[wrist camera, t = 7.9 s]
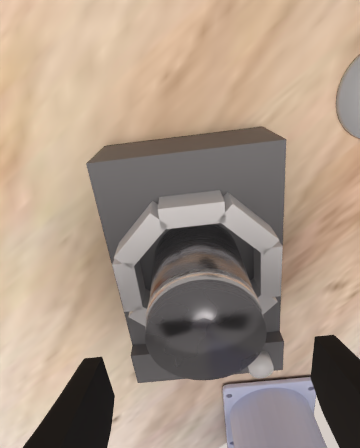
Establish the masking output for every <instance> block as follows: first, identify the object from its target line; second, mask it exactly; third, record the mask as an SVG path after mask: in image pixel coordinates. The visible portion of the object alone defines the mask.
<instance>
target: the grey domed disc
mask: <svg viewBox="0 0 360 448" xmlns="http://www.w3.org/2000/svg"><path fill="white" fill-rule="evenodd" d="M336 110H337V115H338V118H339V121H340V123H341V124H342V126H343V127H344V128H345V130H346V131H347V132H349V133H350V134H351V135H353V136H355V137H357V138H360V55H359V56H358V57H357V58H356V59H355V60H354V61H353V62H352V63H351V64H350V66H349V67H348V69H347V70H346V72H345V73H344V75H343V77H342V79H341V82H340V84H339V88H338V91H337V97H336Z"/></svg>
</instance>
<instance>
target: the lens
mask: <svg viewBox="0 0 360 448" xmlns="http://www.w3.org/2000/svg"><path fill="white" fill-rule="evenodd" d="M145 328H146V332H145V341H146V346H147V350H148V352H149V354H150V356H151V357H152V358H153V360H154V361H155V362H156V363H157V364H158V365H159V366H160V367H162V368H163V369H165V370H166V371H168V372H170V373H172V374H174V375H176V376H179V377H183V378H187V379H193V380H213V379H219V378H224V377H227V376H230V375H233V374H235V373H237V372H239V371H241V370H243V369H244V368H246V367H247V366H249V365H250V364H251V363H252V362H253V361H254V360H255V359H256V358H257V357H258V356H259V354H260V353H261V351H262V349H263V347H264V345H265V342H266V336H267V330H266V324H265V321H264V318H263V312H262V309H261V306H260V303H259V301H258V298H257V296H256V294H255V292H254V291H253V288H252V286H251V283H250V280H249V277H248V275H247V272H246V269H245V266H244V264H243V261H242V258H241V256H240V253H239V250H238V247H237V245H236V242H235V240H234V239H233V237H232V236H231V235H230V233H229V232H228V231H226V230H225V229H224V228H222V227H221V226H219V225H217V224H208V225H199V226H190V227H181V228H172V229H170V230H169V231H167V232H166V233H165V234H164V235H163V236H162V238H161V239H160V241H159V243H158V245H157V247H156V251H155V258H154V266H153V274H152V283H151V291H150V299H149V303H148V307H147V313H146V322H145Z"/></svg>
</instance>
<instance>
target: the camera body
mask: <svg viewBox="0 0 360 448" xmlns="http://www.w3.org/2000/svg"><path fill="white" fill-rule="evenodd" d="M285 159H286V139H285V138H283V137H281V136H279V135H277V134H275V133H273V132H272V131H270V130H268V129H266V128H264V127H256V128H248V129H239V130H231V131H223V132H215V133H207V134H199V135H191V136H182V137H174V138H166V139H158V140H150V141H142V142H134V143H125V144H117V145H109V146H104V147H103V148H102V149H101V150H100V151H99V152H98V153H97V154H96V155H95V156H94V157H93V158H92V159H91V160H89V161H88V162H87V163H86V165H87V169H88V173H89V176H90V180H91V184H92V188H93V192H94V196H95V200H96V204H97V208H98V212H99V216H100V220H101V223H102V227H103V231H104V235H105V239H106V243H107V247H108V251H109V255H110V259H111V263H112V267H113V270H114V274H115V278H116V282H117V286H118V290H119V294H120V298H121V302H122V306H123V310H124V313H125V317H126V321H127V325H128V329H129V333H130V337H131V341H132V345H133V346H132V352H131V358H132V362H133V366H134V370H135V373H136V377H137V381H138V383H143V382H154V381H165V380H176V379H187V378H183V377H179V376H176V375H174V374H172V373H170V372H168V371H166V370H165V369H163V368H162V367H160V366H159V365H158V364H157V363H156V362H155V361H154V360H153V358H152V357H151V356H150V354H149V352H148V350H147V346H146V341H145V332H146V328H145V322H146V313H147V307H148V303H149V299H150V291H151V283H152V274H153V266H154V258H155V251H156V247H157V245H158V243H159V241H160V239H161V238H162V236H163V235H164V234H165V233H166V232H167V231H169V230H170V229H172V228H181V227H190V226H199V225H208V224H217V225H219V226H221V227H222V228H224V229H225V230H226V231H228V232H229V233H230V235H231V236H232V237H233V239H234V240H235V242H236V245H237V247H238V250H239V253H240V256H241V258H242V261H243V264H244V266H245V269H246V272H247V275H248V277H249V280H250V283H251V286H252V288H253V291H254V292H255V294H256V296H257V298H258V301H259V303H260V306H261V309H262V312H263V318H264V321H265V324H266V330H267V336H266V342H265V345H264V347H263V349H262V351H261V353H260V354H259V356H258V357H257V358H256V359H255V360H254V361H253V362H252V363H251V364H250V365H249V366H247V367H246V368H244V369H243V370H241V371H239V372H237V373H235V374H242V373H250V374H251V375H252V376H253V377H255V378H265V377H267V376H269V375H271V374H272V372H273V371H275V370H283V349H284V341H283V338H282V336H281V333H280V304H281V277H282V249H283V217H284V188H285Z"/></svg>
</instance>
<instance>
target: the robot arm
mask: <svg viewBox="0 0 360 448" xmlns="http://www.w3.org/2000/svg"><path fill="white" fill-rule="evenodd" d="M222 390H223V402H224V413H225V425H226V437H227V448H327V446H326V444H325V442H324V439H323V437H322V435H321V432H320V430H319V427H318V425H317V422H316V420H315V417H314V407H315V399H316V395H317V398H318V400H319V403H320V406H321V409H322V411H323V414H324V416H325V418H326V420H327V422H328V424H329V426H330V428H331V431H332V433H333V435H334V437H335V439H336V441H337V443H338V445H339V447H340V448H360V359H359V358H358V357H357V356H356V355H355V354H353V353H352V352H351V351H350V350H349V349H348V348H347V347H346V346H345V345H344V344H343V343H342V342H341V341H340V340H339V339H338V338H337V337H336V336H334V335H328V336H317V337H315V341H314V351H313V361H312V370H311V377H304V378H293V379H282V380H271V381H260V382H249V383H238V384H227V385H225V386H224V387H223V389H222ZM114 397H115V396H114V393H113V390H112V386H111V383H110V380H109V377H108V374H107V371H106V368H105V365H104V362H103V359H102V357H96V358H85V359H84V360H83V361H82V362H81V364H80V365H79V367H78V368H77V370H76V372H75V373H74V375H73V376H72V378H71V379H70V381H69V382H68V384H67V385H66V387H65V388H64V390H63V391H62V393H61V394H60V396H59V397H58V399H57V400H56V402H55V403H54V405H53V406H52V408H51V409H50V411H49V412H48V413H47V415H46V416H45V418H44V419H43V421H42V422H41V423H40V425H39V426H38V428H37V429H36V430H35V432H34V433H33V434H32V436H31V437H30V438H29V440H28V441H27V442H26V444H25V445H24V446H23V448H107V446H108V441H109V436H110V431H111V424H112V416H113V407H114Z"/></svg>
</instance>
